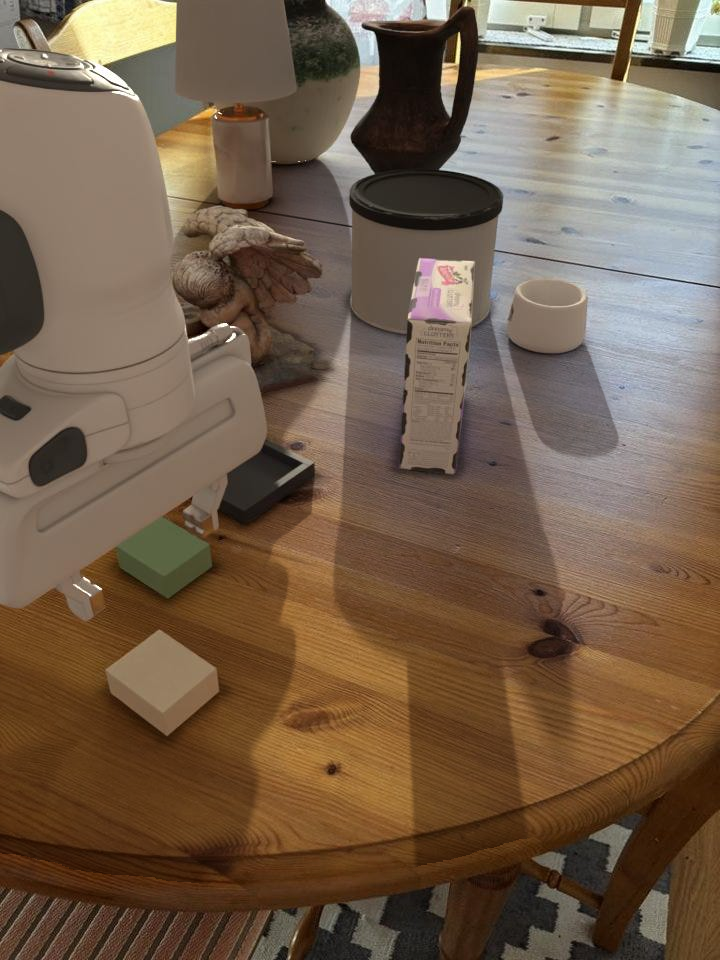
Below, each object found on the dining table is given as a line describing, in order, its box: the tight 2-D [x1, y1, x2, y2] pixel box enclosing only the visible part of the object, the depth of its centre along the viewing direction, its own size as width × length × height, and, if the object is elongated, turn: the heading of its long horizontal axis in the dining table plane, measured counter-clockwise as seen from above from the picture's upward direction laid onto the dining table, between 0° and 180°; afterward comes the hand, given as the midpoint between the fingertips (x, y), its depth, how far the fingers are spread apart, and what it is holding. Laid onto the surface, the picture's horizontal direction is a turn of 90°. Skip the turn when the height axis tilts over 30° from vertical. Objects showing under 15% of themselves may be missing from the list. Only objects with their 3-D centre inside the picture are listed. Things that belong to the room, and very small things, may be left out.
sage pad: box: [115, 516, 213, 599], centre depth 72 cm, size 5×6×2 cm
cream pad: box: [104, 629, 220, 737], centre depth 61 cm, size 5×6×2 cm
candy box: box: [398, 258, 475, 475], centre depth 84 cm, size 14×6×16 cm, turn 172°
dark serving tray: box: [217, 439, 316, 525], centre depth 84 cm, size 10×17×2 cm, turn 52°
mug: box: [505, 278, 589, 354], centre depth 106 cm, size 12×10×6 cm
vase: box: [213, 0, 361, 165], centre depth 158 cm, size 28×28×30 cm
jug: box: [350, 5, 479, 174], centre depth 140 cm, size 21×18×30 cm
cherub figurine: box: [171, 205, 329, 394], centre depth 96 cm, size 18×18×18 cm
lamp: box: [174, 0, 297, 211], centre depth 136 cm, size 19×19×34 cm
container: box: [349, 169, 504, 335], centre depth 110 cm, size 19×19×15 cm
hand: (148, 568), depth 55 cm, fingers open, 8 cm apart
